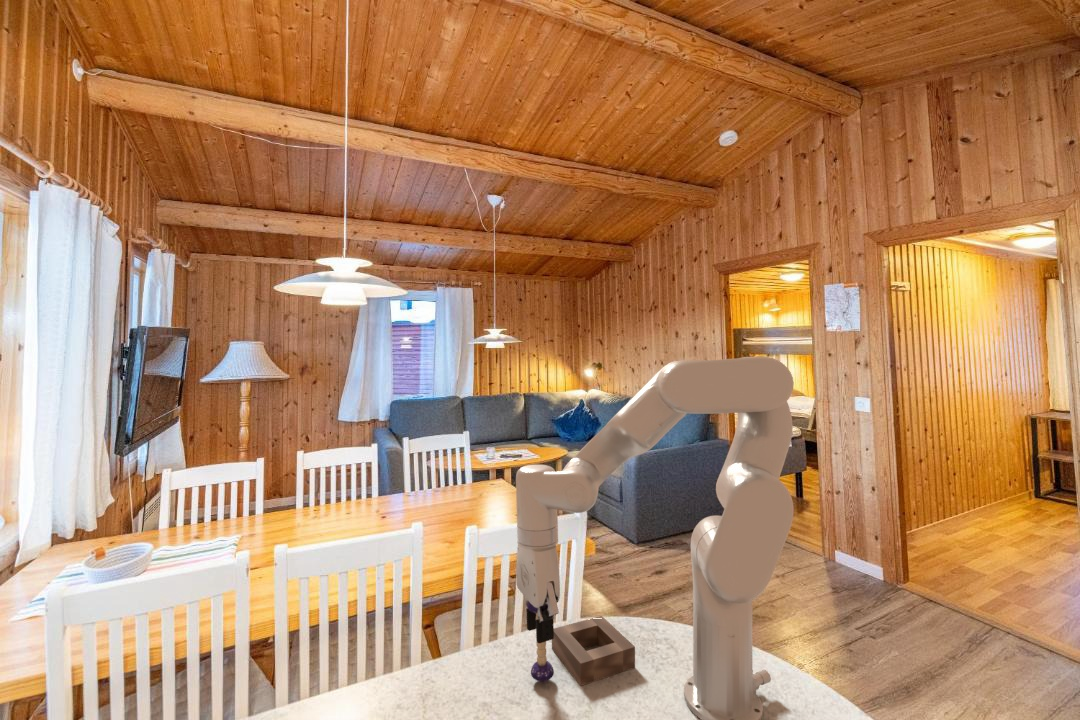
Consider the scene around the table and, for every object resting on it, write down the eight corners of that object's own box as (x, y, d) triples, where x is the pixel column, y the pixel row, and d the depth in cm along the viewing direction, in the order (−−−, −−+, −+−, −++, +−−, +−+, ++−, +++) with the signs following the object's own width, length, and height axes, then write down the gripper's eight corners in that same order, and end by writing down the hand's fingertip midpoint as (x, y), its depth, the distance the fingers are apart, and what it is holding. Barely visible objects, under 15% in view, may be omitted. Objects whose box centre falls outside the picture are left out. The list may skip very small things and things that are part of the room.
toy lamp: (551, 685, 82) (549, 592, 82) (525, 681, 83) (524, 589, 83) (555, 667, 87) (554, 579, 87) (531, 664, 88) (529, 577, 88)
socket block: (601, 634, 100) (601, 615, 100) (635, 667, 89) (635, 646, 89) (551, 648, 95) (551, 629, 95) (580, 685, 84) (580, 663, 84)
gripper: (503, 523, 91) (505, 617, 91) (537, 554, 76) (540, 666, 76) (537, 517, 94) (540, 608, 94) (577, 545, 79) (580, 653, 79)
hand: (540, 633), depth 85 cm, fingers closed on toy lamp, 3 cm apart
